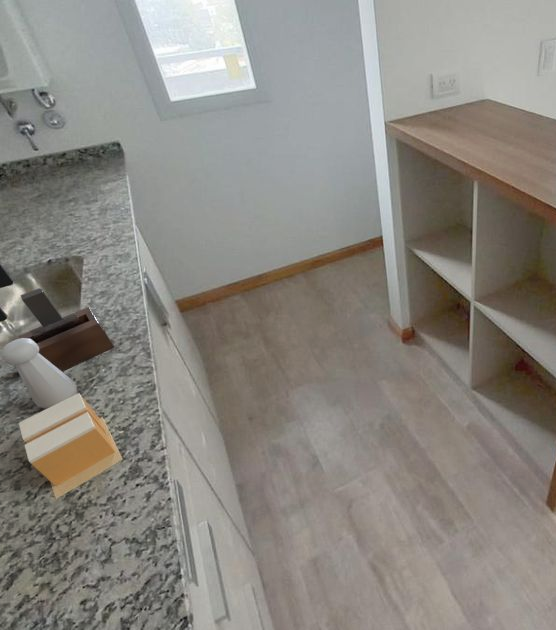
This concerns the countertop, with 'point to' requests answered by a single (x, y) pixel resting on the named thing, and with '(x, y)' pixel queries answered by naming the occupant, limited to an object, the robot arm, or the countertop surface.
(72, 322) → the knife
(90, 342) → the knife block
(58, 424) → the cake
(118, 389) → the countertop surface
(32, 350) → the salt shaker
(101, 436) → the cake slice
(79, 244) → the countertop surface
